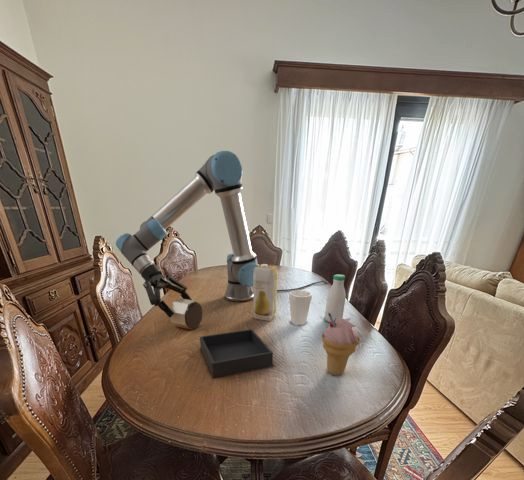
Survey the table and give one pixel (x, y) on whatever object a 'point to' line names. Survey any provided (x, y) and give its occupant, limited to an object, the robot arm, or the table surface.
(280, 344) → the table surface
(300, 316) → the foam cup
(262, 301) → the juice carton
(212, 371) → the tray
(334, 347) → the ice cream cone
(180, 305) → the pot
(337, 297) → the milk bottle
